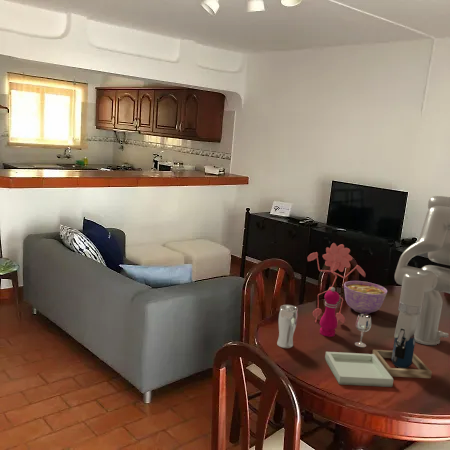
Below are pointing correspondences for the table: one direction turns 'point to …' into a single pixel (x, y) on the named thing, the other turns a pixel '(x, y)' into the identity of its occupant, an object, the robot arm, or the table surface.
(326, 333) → the pepper mill
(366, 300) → the bowl of food
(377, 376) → the sage dish
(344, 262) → the figurine
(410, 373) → the oak frame
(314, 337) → the table surface
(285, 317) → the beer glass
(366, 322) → the wineglass
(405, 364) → the soda can
